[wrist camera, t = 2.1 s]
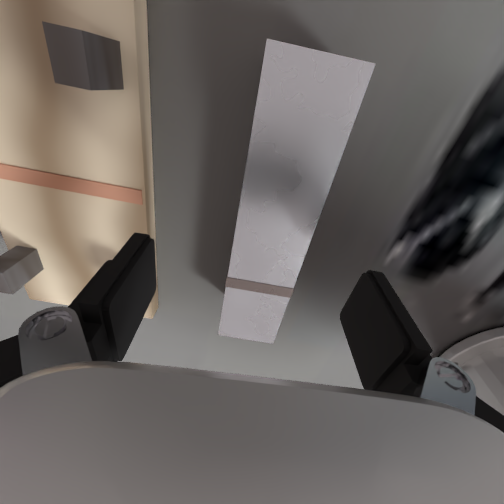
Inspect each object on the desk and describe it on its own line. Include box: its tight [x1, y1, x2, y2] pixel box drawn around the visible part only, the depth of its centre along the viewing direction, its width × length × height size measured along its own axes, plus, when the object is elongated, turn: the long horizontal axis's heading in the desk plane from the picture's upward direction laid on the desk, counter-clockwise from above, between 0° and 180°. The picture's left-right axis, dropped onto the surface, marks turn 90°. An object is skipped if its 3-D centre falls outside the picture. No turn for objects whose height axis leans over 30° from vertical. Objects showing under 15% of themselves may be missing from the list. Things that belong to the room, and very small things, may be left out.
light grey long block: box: [218, 39, 376, 344], centre depth 17 cm, size 4×18×4 cm, turn 170°
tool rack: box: [0, 0, 158, 319], centre depth 16 cm, size 11×24×4 cm, turn 170°
